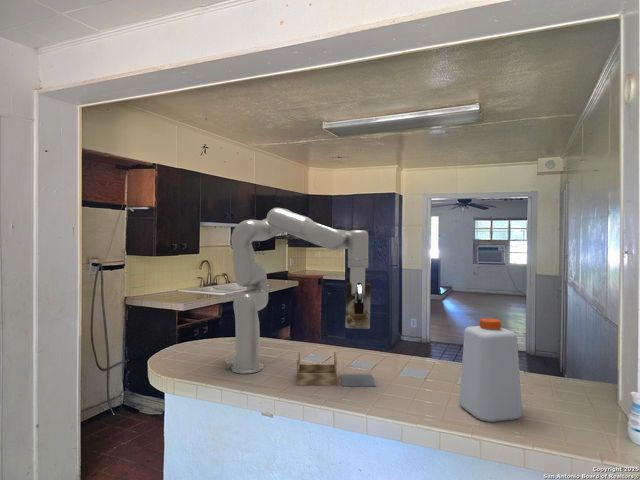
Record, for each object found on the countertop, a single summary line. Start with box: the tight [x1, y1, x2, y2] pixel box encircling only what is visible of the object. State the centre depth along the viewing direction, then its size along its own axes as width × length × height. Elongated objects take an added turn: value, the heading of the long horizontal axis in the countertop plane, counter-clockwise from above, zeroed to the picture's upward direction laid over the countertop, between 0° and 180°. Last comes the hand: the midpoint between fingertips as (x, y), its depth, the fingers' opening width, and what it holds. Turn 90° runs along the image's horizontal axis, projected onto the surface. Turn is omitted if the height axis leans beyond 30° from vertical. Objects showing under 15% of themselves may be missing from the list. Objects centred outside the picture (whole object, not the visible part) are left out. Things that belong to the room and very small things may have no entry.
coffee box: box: [344, 282, 372, 330], centre depth 149 cm, size 9×6×16 cm
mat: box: [339, 373, 377, 388], centre depth 149 cm, size 12×12×1 cm
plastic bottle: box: [458, 317, 523, 423], centre depth 123 cm, size 15×15×28 cm
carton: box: [296, 351, 338, 386], centre depth 150 cm, size 14×11×9 cm
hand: (357, 311), depth 149 cm, fingers closed on coffee box, 6 cm apart
